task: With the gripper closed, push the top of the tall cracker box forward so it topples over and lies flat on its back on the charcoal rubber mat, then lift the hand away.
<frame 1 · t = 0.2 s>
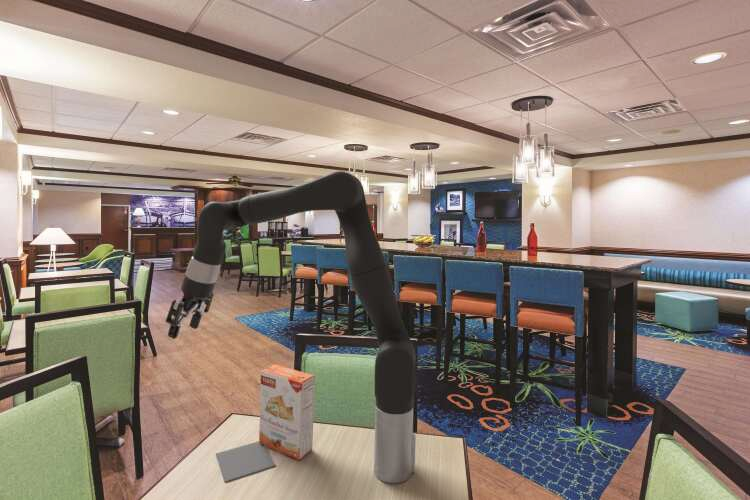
hand: (183, 332, 102), 31 cm above the table, tool tilted 20°, fingers open, 8 cm apart
mat: (245, 460, 99), on the table
cracker box: (285, 448, 104), on the table, touching mat
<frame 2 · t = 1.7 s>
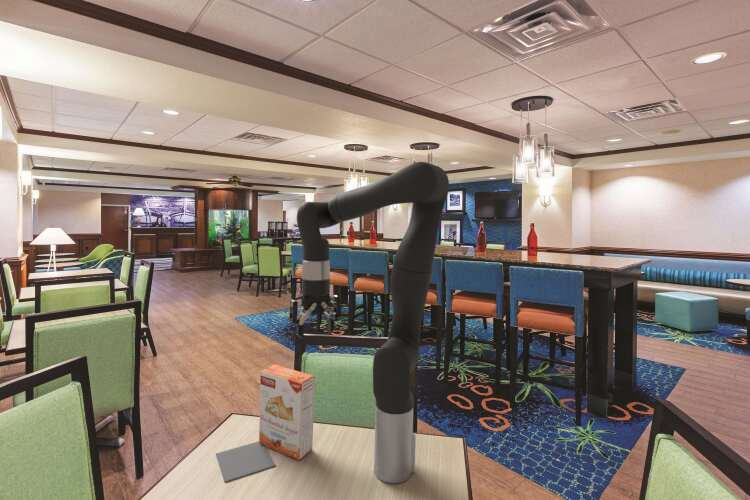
hand: (315, 335, 106), 30 cm above the table, tool pointing down, fingers open, 8 cm apart
nothing on the table moved.
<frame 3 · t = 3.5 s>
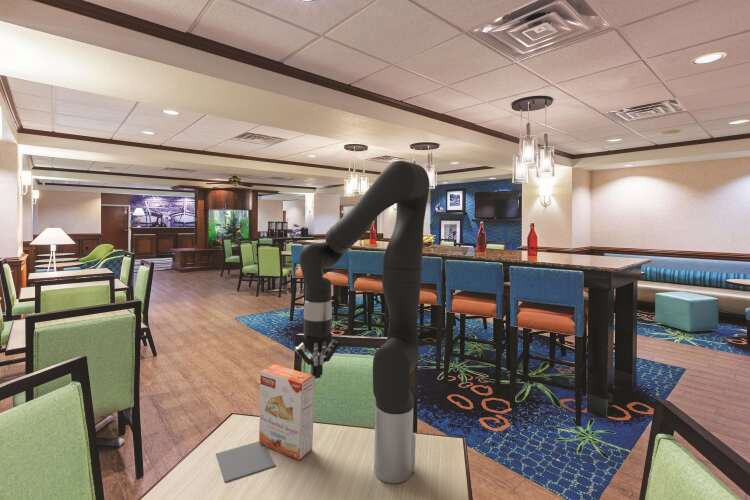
hand: (316, 377, 107), 18 cm above the table, tool pointing down, fingers closed
nothing on the table moved.
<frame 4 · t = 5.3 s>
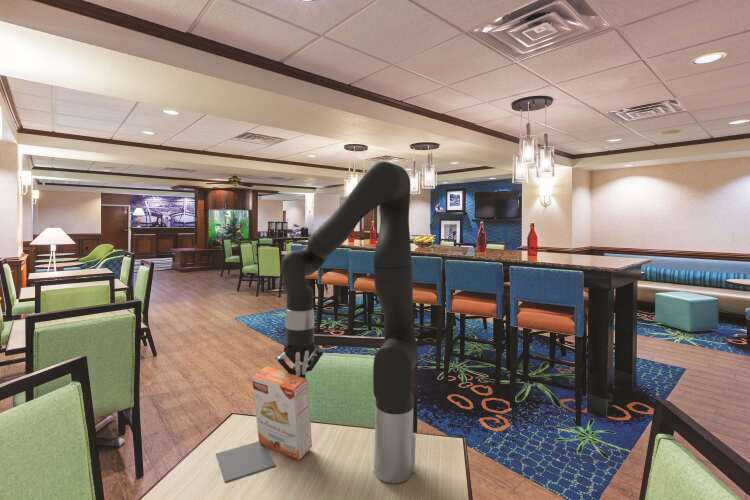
hand: (299, 386, 105), 16 cm above the table, tool pointing down, fingers closed
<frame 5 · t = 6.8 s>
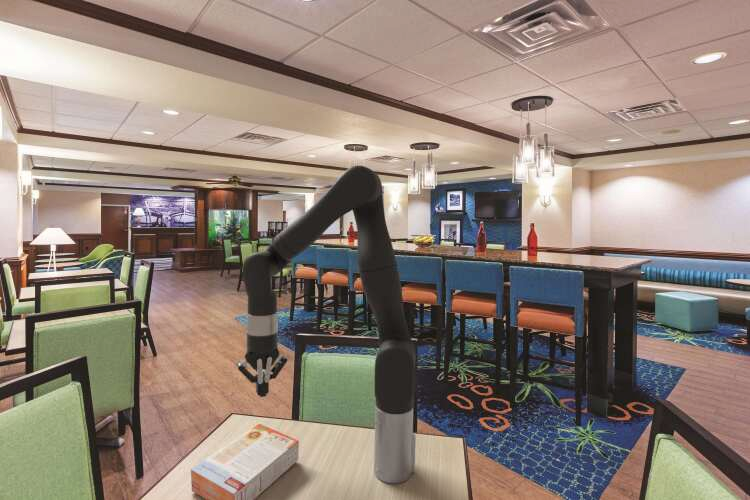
hand: (262, 395, 100), 16 cm above the table, tool pointing down, fingers closed
cracker box: (279, 441, 102), point 3 cm above the table, touching mat
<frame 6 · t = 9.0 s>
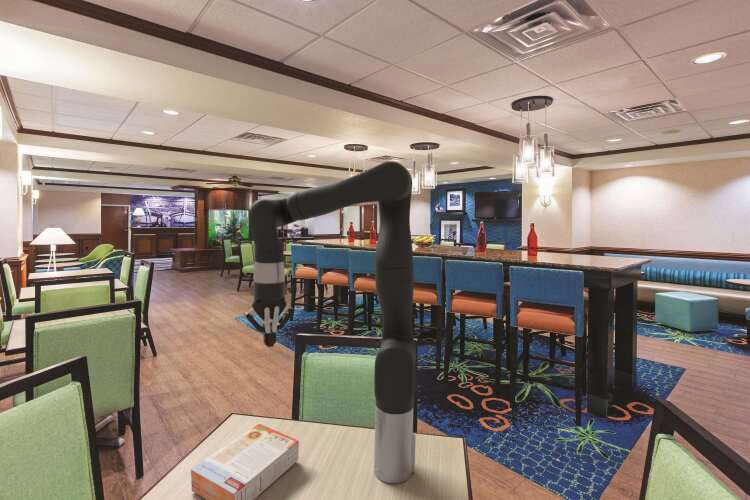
hand: (269, 345, 99), 29 cm above the table, tool pointing down, fingers closed
nothing on the table moved.
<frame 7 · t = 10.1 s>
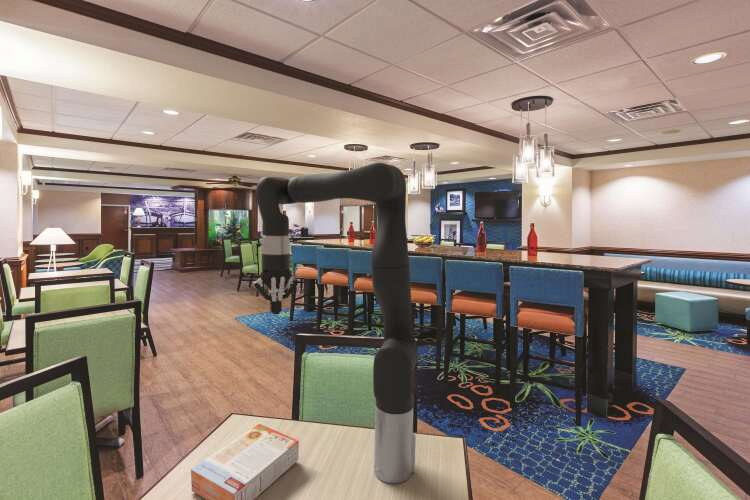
hand: (275, 313, 108), 35 cm above the table, tool pointing down, fingers closed
nothing on the table moved.
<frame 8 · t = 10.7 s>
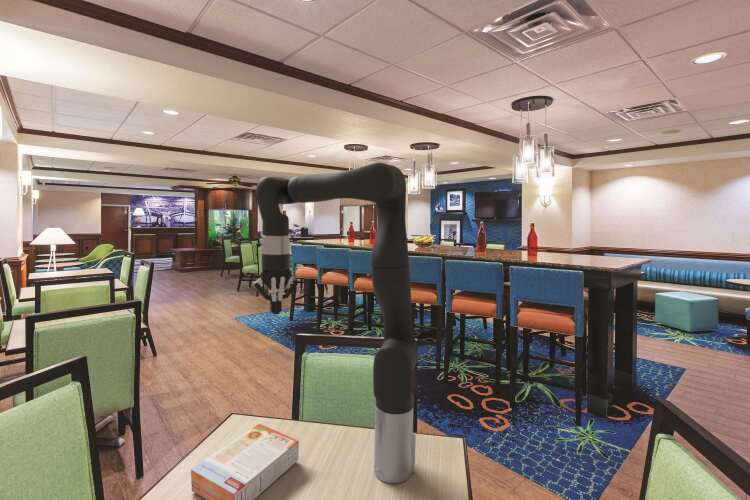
hand: (275, 313, 108), 35 cm above the table, tool pointing down, fingers closed
nothing on the table moved.
at the end: cracker box tilted 91°; cracker box touching mat, table; the gripper is holding nothing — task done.
